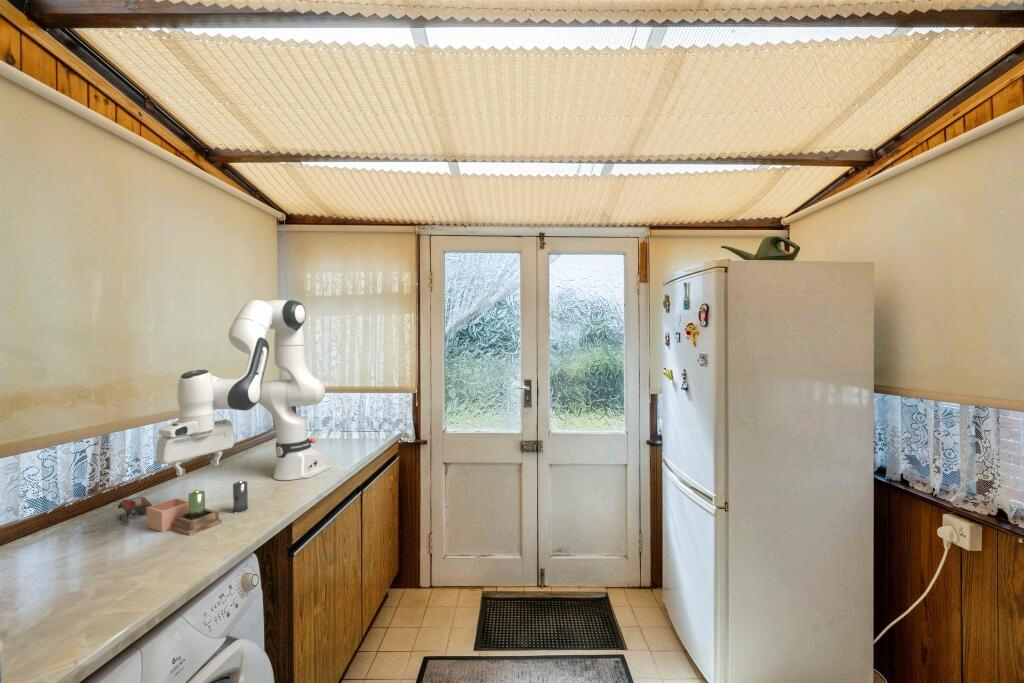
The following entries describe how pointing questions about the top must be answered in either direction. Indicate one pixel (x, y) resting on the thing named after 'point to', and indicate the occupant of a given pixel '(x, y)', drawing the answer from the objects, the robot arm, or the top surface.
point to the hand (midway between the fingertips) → (198, 470)
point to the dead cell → (240, 496)
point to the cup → (165, 513)
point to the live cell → (196, 504)
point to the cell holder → (196, 522)
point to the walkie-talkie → (132, 508)
